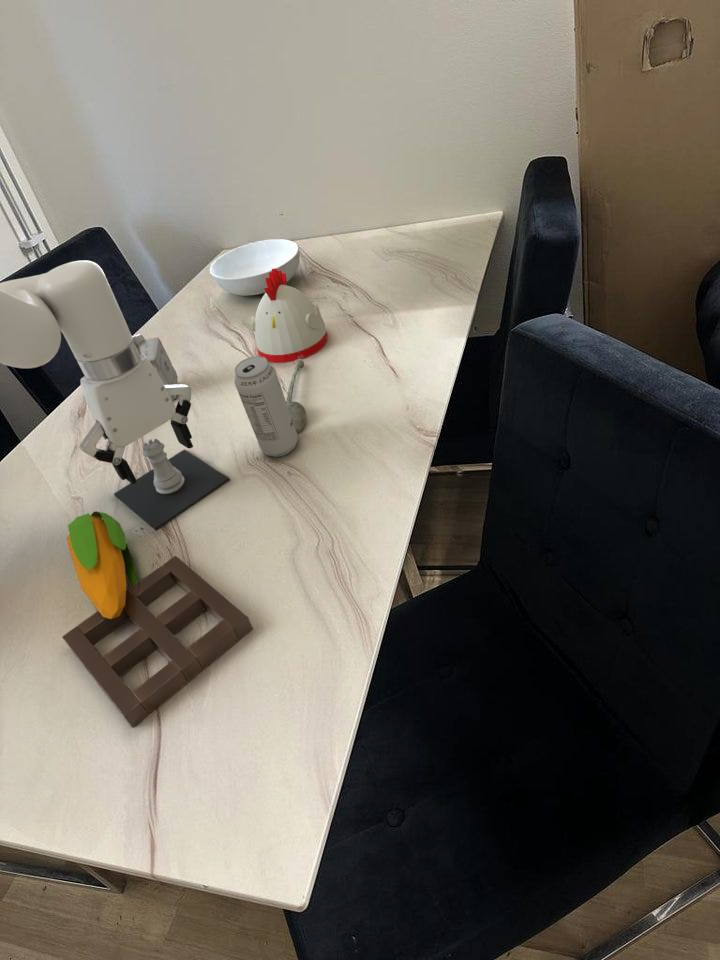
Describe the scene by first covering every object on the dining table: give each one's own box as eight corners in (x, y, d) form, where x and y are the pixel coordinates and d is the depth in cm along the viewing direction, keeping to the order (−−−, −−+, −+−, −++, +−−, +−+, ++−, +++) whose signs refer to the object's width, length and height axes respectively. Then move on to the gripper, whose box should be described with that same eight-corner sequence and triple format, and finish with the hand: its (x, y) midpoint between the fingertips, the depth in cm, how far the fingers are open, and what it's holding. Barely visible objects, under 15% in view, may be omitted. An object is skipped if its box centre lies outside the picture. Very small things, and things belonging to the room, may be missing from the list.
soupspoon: (265, 443, 106) (306, 440, 105) (260, 426, 103) (302, 423, 103) (283, 368, 122) (318, 364, 121) (279, 352, 120) (315, 348, 119)
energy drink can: (307, 441, 102) (280, 361, 92) (278, 464, 100) (247, 384, 89) (283, 428, 106) (254, 349, 95) (254, 449, 103) (222, 371, 93)
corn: (101, 486, 89) (132, 575, 75) (127, 525, 94) (161, 616, 79) (48, 513, 88) (69, 609, 73) (78, 551, 93) (103, 649, 78)
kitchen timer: (247, 363, 126) (222, 289, 117) (273, 328, 136) (252, 257, 127) (315, 361, 122) (295, 284, 113) (336, 325, 132) (319, 251, 122)
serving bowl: (202, 295, 157) (192, 267, 153) (271, 261, 166) (264, 234, 162) (251, 314, 144) (242, 284, 139) (323, 275, 153) (317, 246, 148)
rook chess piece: (156, 499, 98) (135, 457, 93) (156, 481, 101) (136, 439, 96) (186, 490, 98) (166, 448, 93) (185, 473, 101) (166, 431, 96)
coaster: (156, 530, 93) (155, 528, 93) (114, 495, 101) (113, 493, 101) (230, 480, 99) (229, 477, 98) (185, 451, 107) (184, 449, 107)
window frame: (132, 728, 69) (123, 716, 67) (70, 647, 79) (61, 636, 78) (253, 628, 76) (247, 616, 75) (181, 566, 86) (175, 555, 85)
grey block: (123, 416, 120) (98, 366, 113) (131, 392, 126) (108, 344, 120) (175, 405, 119) (153, 354, 113) (181, 381, 126) (160, 332, 119)
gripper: (152, 324, 92) (194, 424, 103) (37, 383, 85) (95, 485, 95) (180, 336, 88) (220, 440, 98) (60, 400, 80) (118, 505, 91)
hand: (159, 462), depth 97 cm, fingers open, 9 cm apart
